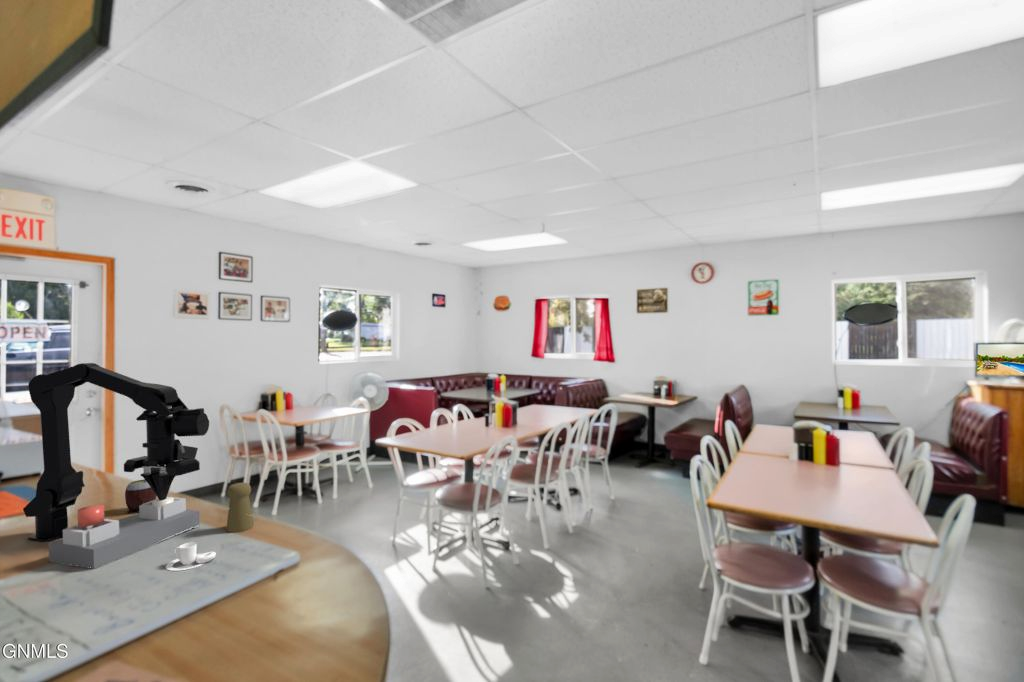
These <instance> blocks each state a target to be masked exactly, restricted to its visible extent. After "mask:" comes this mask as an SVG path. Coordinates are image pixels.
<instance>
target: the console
mask: <svg viewBox="0 0 1024 682" xmlns="http://www.w3.org/2000/svg"><path fill="white" fill-rule="evenodd" d="M172 497H173V498H174V502H171V503H168V504H165V505H162V506H155V505H152V501H150V502H147V503H144V504H142V505H140V506H139V511H138V513H135V514H131V515H128V516H126V517H123V518H120V519H110V518H104V521H103V522H102V523H99V524H96V525H91V526H84V527H80V526H78V523H77V524H75V525H71V526H68V528H67V529H64V530H63V536H62V538H59V539H56V540H53V541H49V542H48V562H51V563H58V564H62V563H64V564H63V565H68V564H72V565H71V566H74V565H78V566H77V567H79V566H83V567H82V568H85V567H89V568H88V569H91V568H95V569H97V567H98V568H100V567H102V565H103V566H105V565H107V563H108V564H110V563H113V562H115V561H117V559H118V560H120V559H123V558H125V557H127V556H131V555H133V554H136V553H137V552H140V551H142V550H145V549H147V547H148V546H150V545H153V544H155V543H157V542H159V541H161V540H163V539H165V538H167V537H169V536H172V535H175V534H176V533H179V532H181V531H184V530H186V529H189V528H191V527H195V526H197V525H199V526H200V510H195V509H187V501H186V500H187V499H186V498H185V497H178V496H177V497H176V496H175V497H174V496H172ZM155 545H156V544H155ZM153 546H154V545H153ZM150 547H151V546H150ZM148 548H149V547H148ZM112 561H113V562H112ZM109 562H110V563H109ZM99 566H100V567H99ZM90 567H91V568H90Z"/></svg>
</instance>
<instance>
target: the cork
mask: <svg viewBox="0 0 1024 682" xmlns="http://www.w3.org/2000/svg"><path fill="white" fill-rule="evenodd" d="M226 492H227V493H226V494H227V497H228V498H229V503H228V504H229V505H228V514H227V520H226V521H227V523H226V529H225V531H226V532H227V533H240V532H245V531H249V530H250V529H252V528H253V527H254V519H253V512H252V507H251V504H250V503H251V502H250V497H249V496H250V494H251V492H252V487H251V485H250V483H249V482H236V483H233V484H231V485H229V486H228V488H227V491H226ZM229 508H230V509H229ZM247 514H248V515H247ZM249 515H252V516H249Z"/></svg>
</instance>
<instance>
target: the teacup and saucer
mask: <svg viewBox="0 0 1024 682" xmlns="http://www.w3.org/2000/svg"><path fill="white" fill-rule="evenodd" d="M177 550H178V551H177ZM173 552H174V555H175V558H176V559H173V560H171V561H170V562H168V563H167V564H166V565H165V569H166V570H167V571H171V572H181V571H186V570H192V569H195V568H198V567H200V566H202V565H205V564H207V563H208V562H211V561H212V560H213V559H215V558H216V556H217V553H216V552H215V551H207V552H205V553H197V542H196V541H195V542H193V541H191V542H185V543H183V544H181V545H179V546H177V547H176V548H175V549H174V551H173ZM178 552H179V553H178ZM178 554H179V555H178ZM179 561H180V562H181V565H183V566H188V565H192V566H189V567H183V568H176V567H173V566H174V565H175V563H178V562H179ZM194 562H196V563H197V564H195V565H193V564H194Z"/></svg>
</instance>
